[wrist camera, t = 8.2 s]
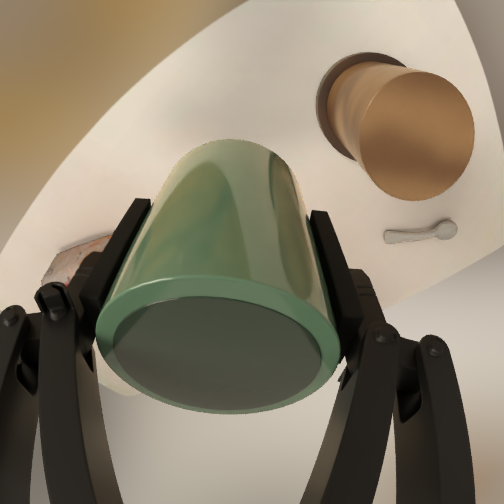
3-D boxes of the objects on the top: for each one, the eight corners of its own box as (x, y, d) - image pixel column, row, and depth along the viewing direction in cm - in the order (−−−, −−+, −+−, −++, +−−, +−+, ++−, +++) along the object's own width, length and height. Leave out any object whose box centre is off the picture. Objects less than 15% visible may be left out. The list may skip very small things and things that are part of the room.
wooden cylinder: (324, 40, 25) (362, 37, 16) (430, 70, 26) (496, 91, 17) (307, 151, 33) (331, 201, 24) (407, 168, 34) (456, 219, 24)
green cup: (156, 141, 15) (56, 272, 7) (307, 141, 15) (373, 279, 7) (172, 258, 19) (133, 407, 11) (294, 260, 19) (315, 414, 11)
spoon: (452, 233, 39) (457, 241, 38) (381, 241, 41) (385, 250, 40) (455, 217, 38) (461, 224, 36) (383, 223, 40) (386, 232, 38)
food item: (121, 223, 39) (94, 271, 31) (148, 267, 43) (129, 318, 36) (56, 247, 41) (27, 290, 33) (82, 284, 46) (60, 329, 38)
